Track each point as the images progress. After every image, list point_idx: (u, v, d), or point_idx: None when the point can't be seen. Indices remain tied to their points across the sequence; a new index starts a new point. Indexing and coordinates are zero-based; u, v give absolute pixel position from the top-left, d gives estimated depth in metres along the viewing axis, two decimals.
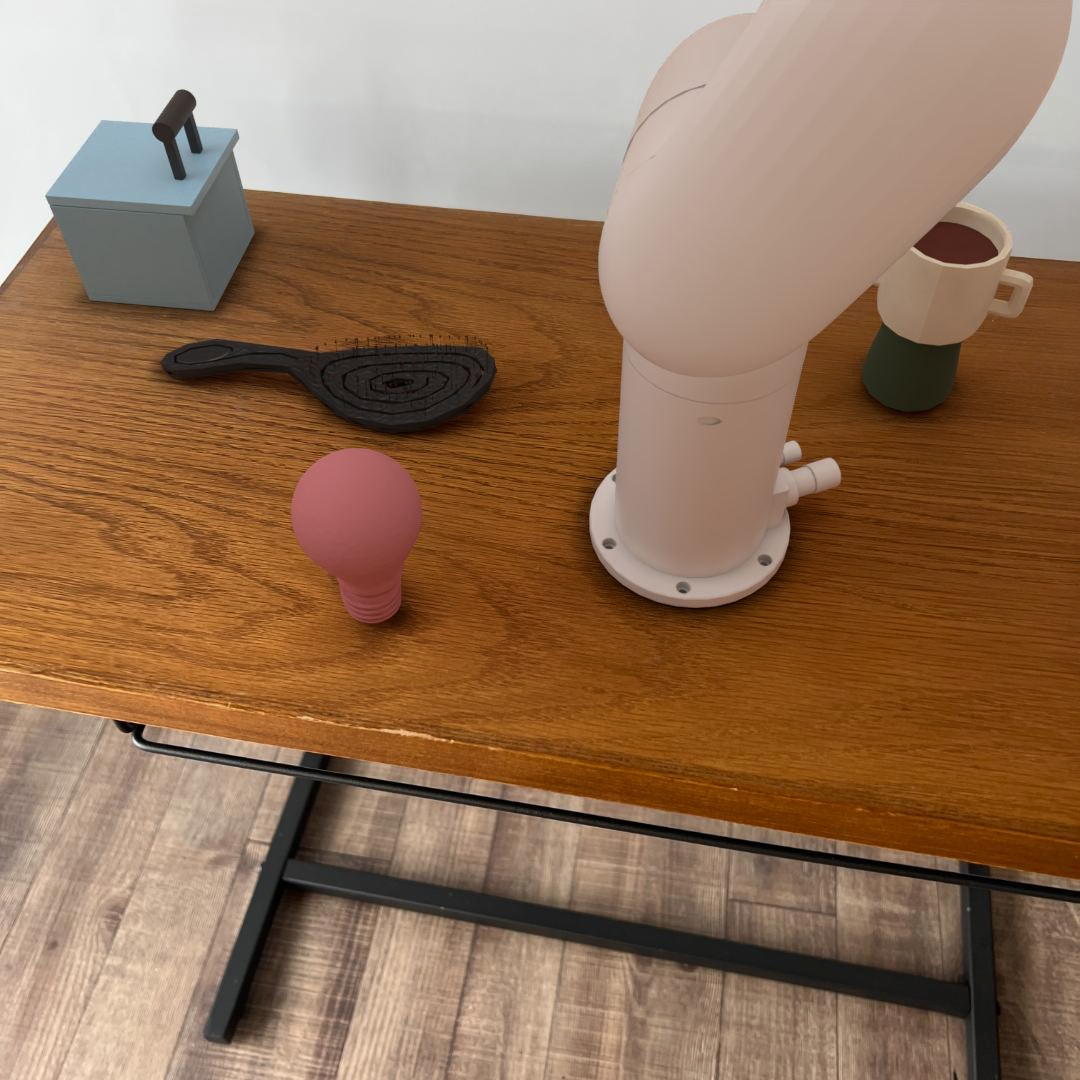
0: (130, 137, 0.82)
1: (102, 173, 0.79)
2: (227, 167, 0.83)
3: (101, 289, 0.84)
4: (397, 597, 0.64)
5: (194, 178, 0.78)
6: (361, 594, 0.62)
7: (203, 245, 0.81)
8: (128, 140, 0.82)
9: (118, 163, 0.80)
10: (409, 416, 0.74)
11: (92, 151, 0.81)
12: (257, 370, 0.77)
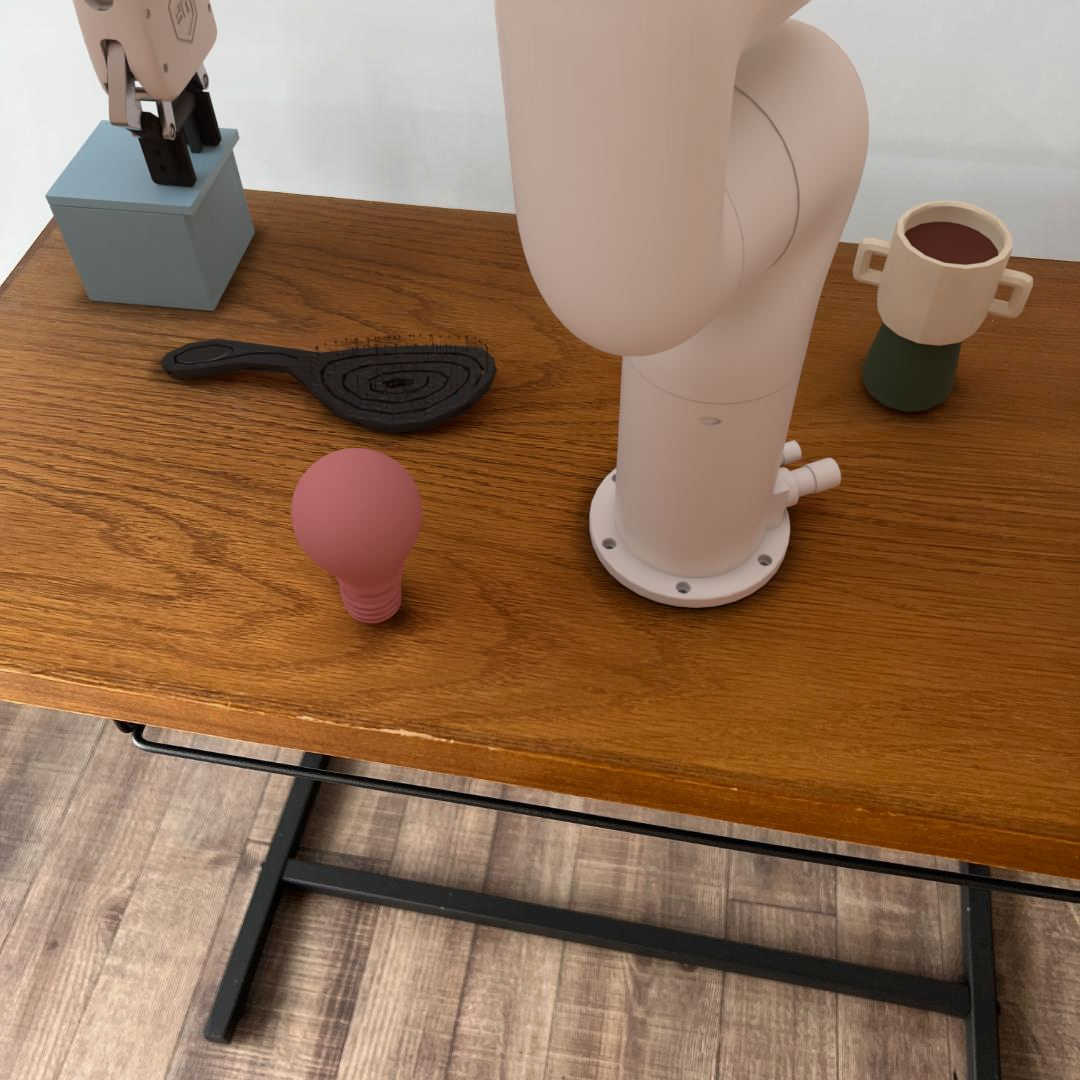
0: (130, 137, 0.82)
1: (102, 173, 0.79)
2: (227, 167, 0.83)
3: (101, 289, 0.84)
4: (397, 597, 0.64)
5: None
6: (361, 594, 0.62)
7: (203, 245, 0.81)
8: (128, 140, 0.82)
9: (118, 163, 0.80)
10: (409, 416, 0.74)
11: (92, 151, 0.81)
12: (257, 370, 0.77)
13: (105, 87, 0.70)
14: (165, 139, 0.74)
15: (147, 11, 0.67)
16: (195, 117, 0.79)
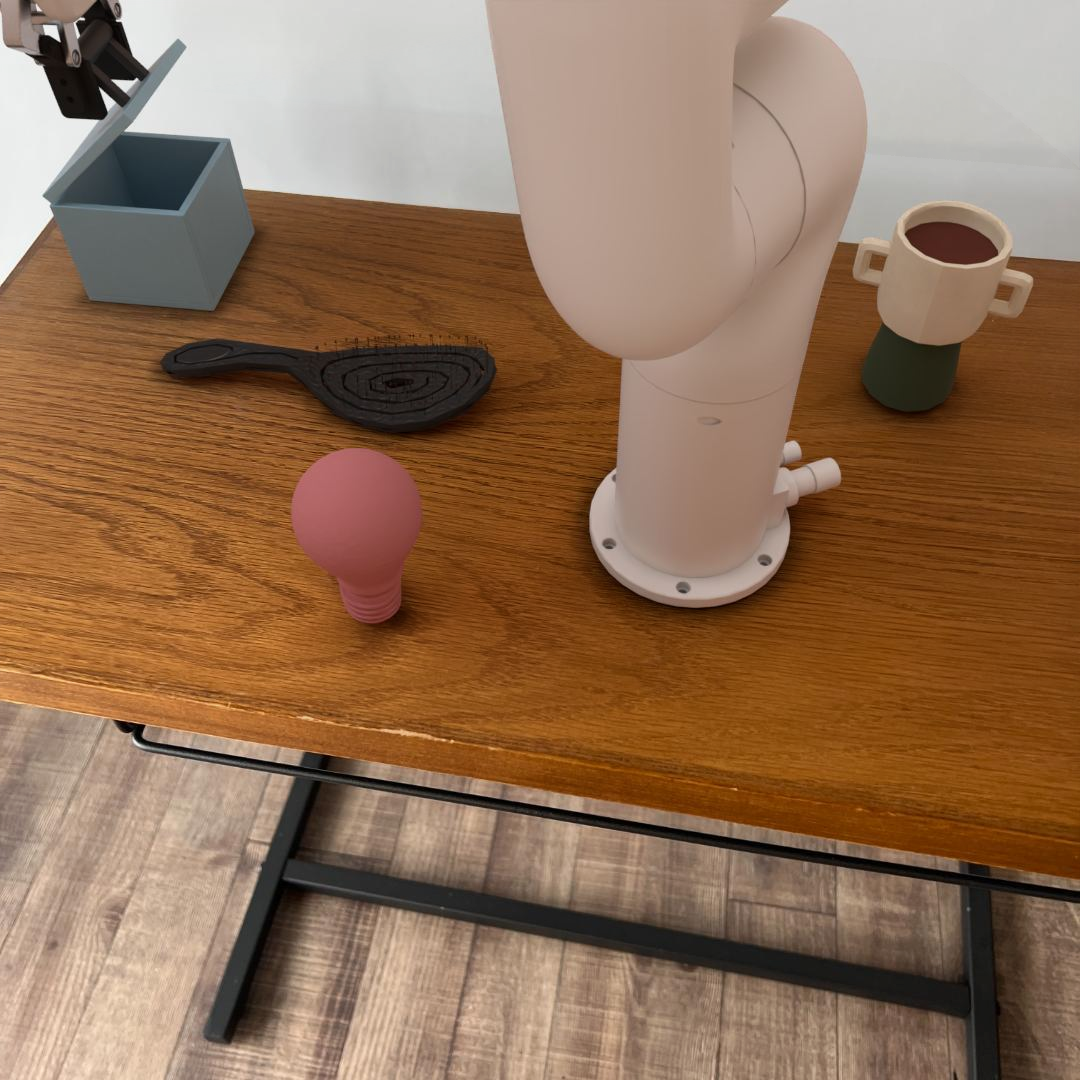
0: (109, 112, 0.81)
1: (81, 149, 0.78)
2: (227, 167, 0.83)
3: (101, 289, 0.84)
4: (397, 597, 0.64)
5: (134, 94, 0.74)
6: (361, 594, 0.62)
7: (203, 245, 0.81)
8: (107, 115, 0.80)
9: (93, 134, 0.78)
10: (409, 416, 0.74)
11: (83, 143, 0.81)
12: (257, 369, 0.77)
13: (0, 8, 0.67)
14: (69, 66, 0.71)
15: None
16: None
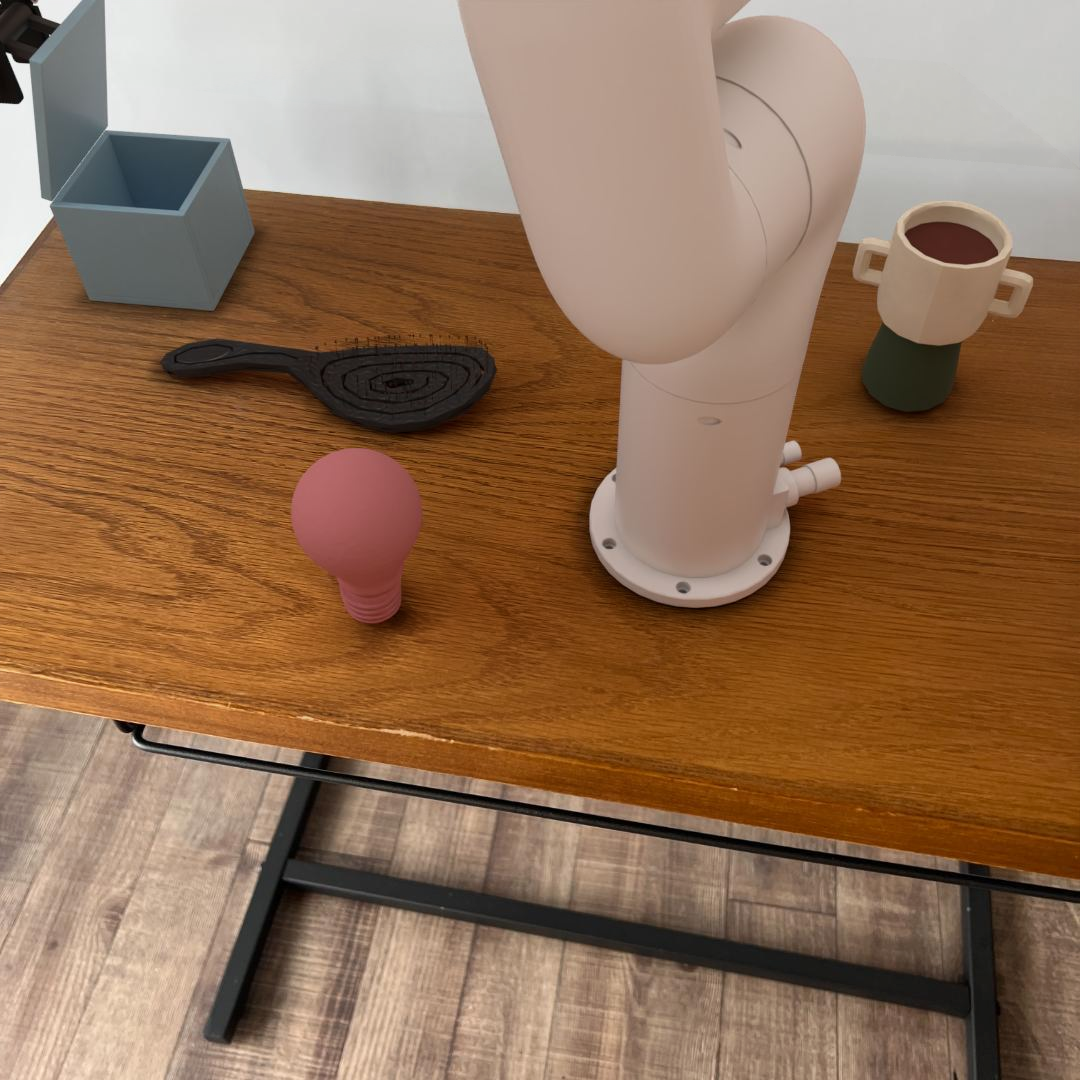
0: None
1: None
2: (227, 167, 0.83)
3: (101, 289, 0.84)
4: (397, 597, 0.64)
5: None
6: (361, 594, 0.62)
7: (203, 245, 0.81)
8: None
9: None
10: (409, 416, 0.74)
11: None
12: (257, 369, 0.77)
13: None
14: None
15: None
16: (26, 33, 0.76)
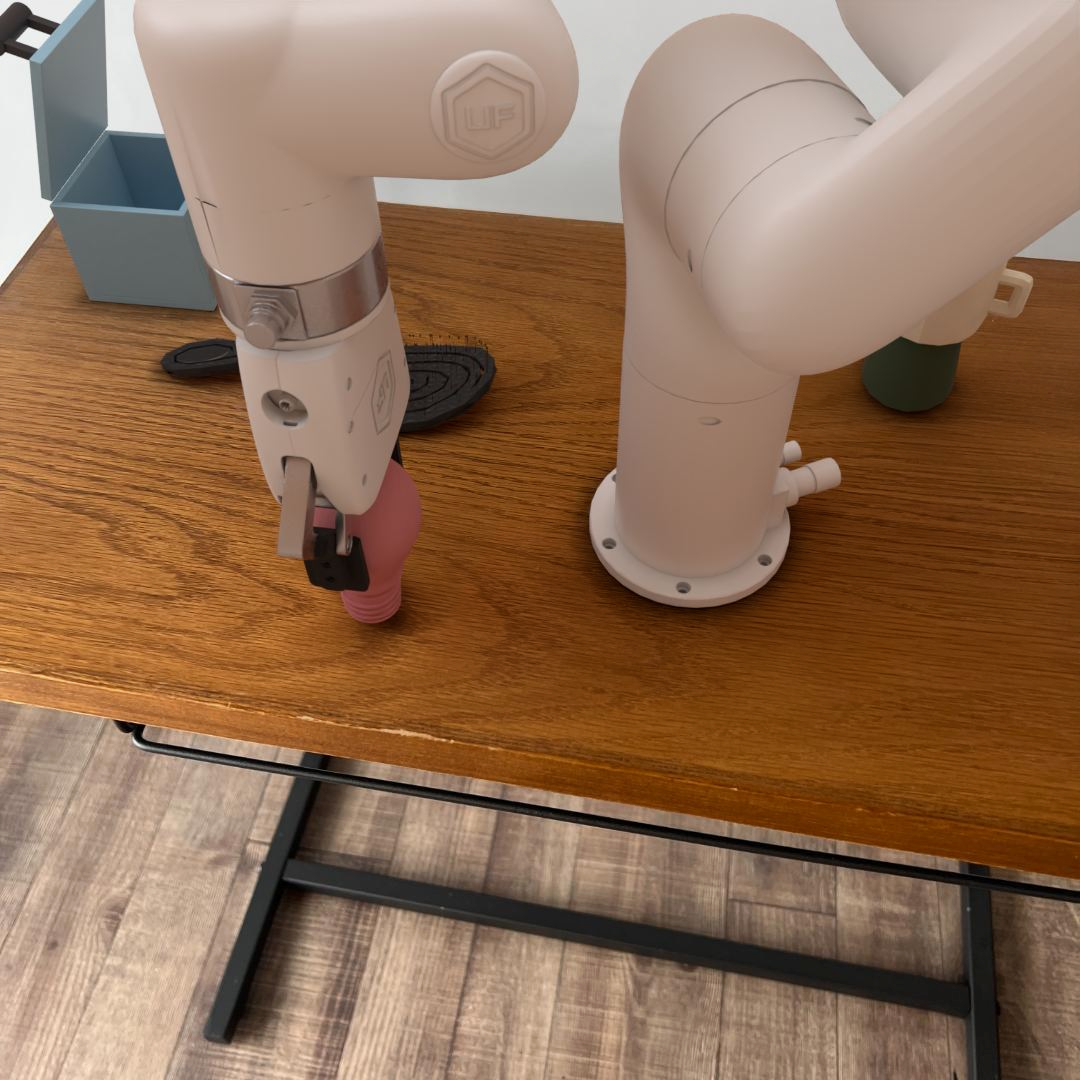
0: None
1: None
2: None
3: (101, 289, 0.84)
4: (397, 597, 0.64)
5: None
6: (361, 594, 0.62)
7: None
8: None
9: None
10: (409, 416, 0.74)
11: None
12: None
13: (279, 499, 0.51)
14: (338, 554, 0.54)
15: (350, 422, 0.48)
16: None
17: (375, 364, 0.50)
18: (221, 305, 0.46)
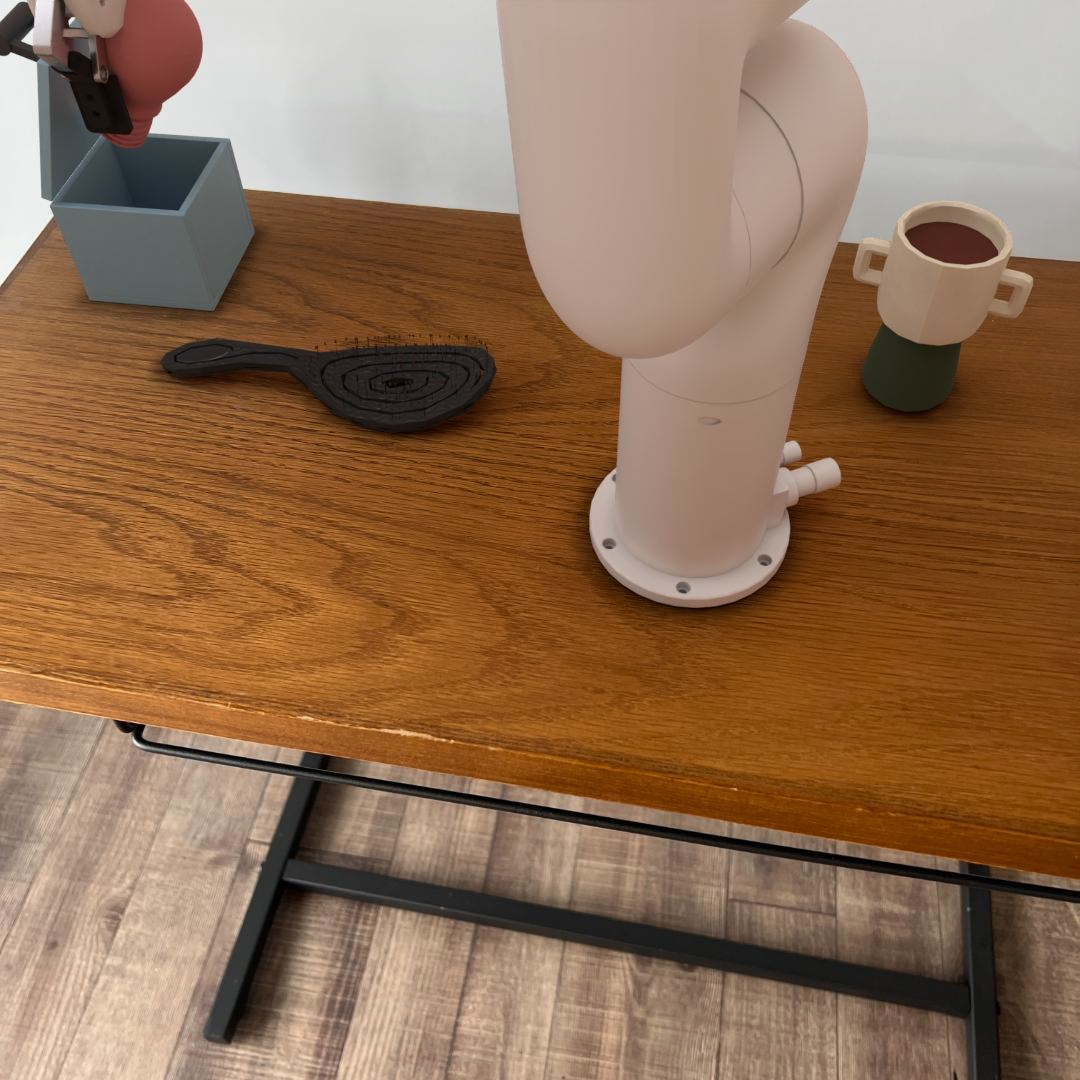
0: None
1: None
2: (227, 167, 0.83)
3: (101, 289, 0.84)
4: (146, 133, 0.77)
5: None
6: None
7: (203, 245, 0.81)
8: None
9: None
10: (409, 416, 0.74)
11: None
12: (257, 369, 0.77)
13: None
14: (96, 81, 0.70)
15: None
16: None
17: None
18: None
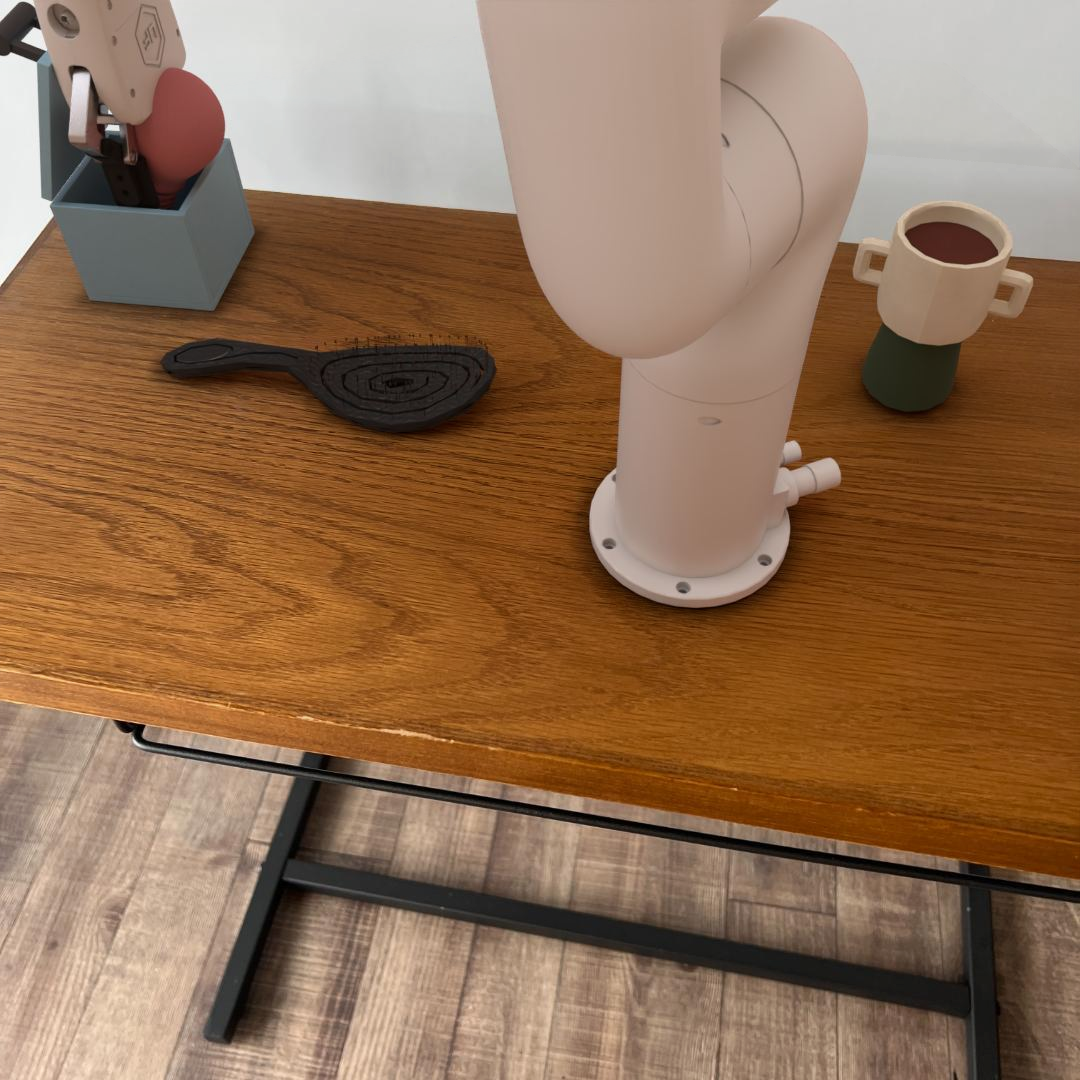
0: None
1: None
2: (227, 167, 0.83)
3: (101, 289, 0.84)
4: (171, 205, 0.82)
5: None
6: None
7: (203, 245, 0.81)
8: None
9: None
10: (409, 416, 0.74)
11: None
12: (257, 369, 0.77)
13: None
14: (126, 164, 0.75)
15: (113, 38, 0.68)
16: None
17: (137, 6, 0.70)
18: None
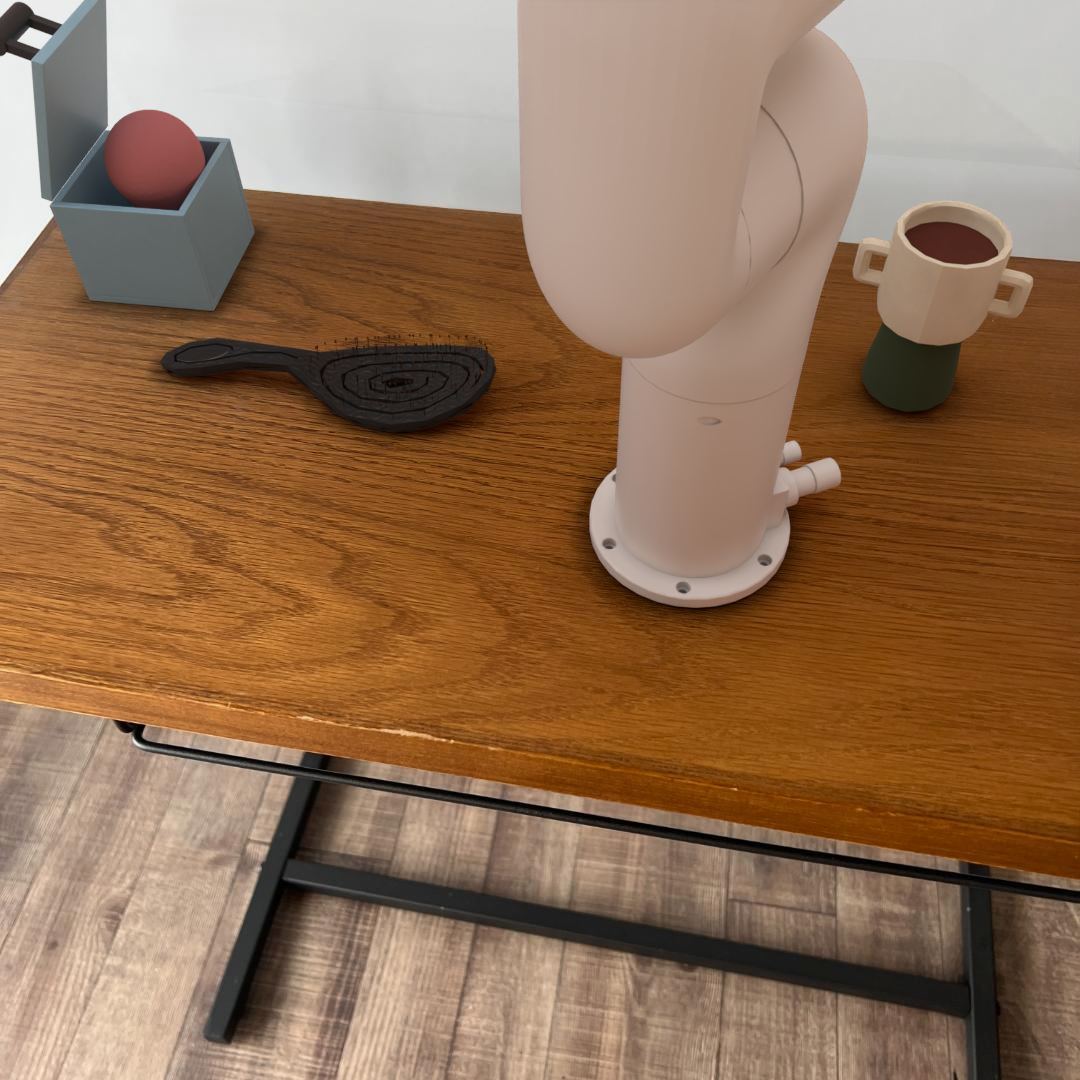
0: None
1: None
2: (227, 167, 0.83)
3: (101, 289, 0.84)
4: None
5: None
6: None
7: (203, 245, 0.81)
8: None
9: None
10: (408, 415, 0.74)
11: None
12: (257, 369, 0.77)
13: None
14: None
15: None
16: None
17: None
18: None
